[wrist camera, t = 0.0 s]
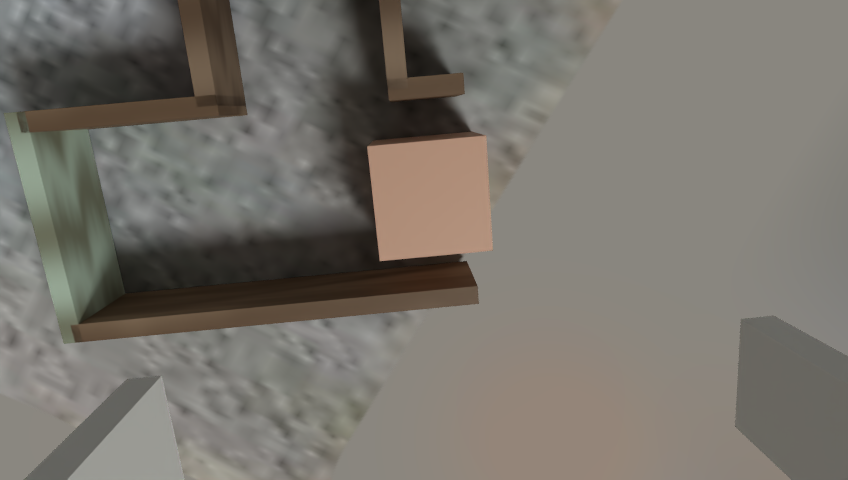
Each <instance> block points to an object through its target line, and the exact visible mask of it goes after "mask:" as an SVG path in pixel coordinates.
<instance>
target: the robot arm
mask: <svg viewBox="0 0 848 480" xmlns="http://www.w3.org/2000/svg"><path fill="white" fill-rule="evenodd" d="M740 327H741V328H740V345H739V363H738V364H739V365H738V384H737V401H736V420H735V427H736V428H737V429H738V430H739V431H740V432H741V433H742V434H744V435H745V436H746V437H747V438H748V439H749V440H750V441H751V442H752V443H753V444H754V445H755V446H756V447H757V448H758V449H759V450H760V451H762V452H763V453H764V454H765V455H766V456H767V457H768V458H769V459H770V460H771V461H772V462H773V463H774V464H775V465H776V466H777V467H778V468H780V469H781V470H782V471H783V472H784V473H785V474H786V475H787V476H788V477H789V478H790V479H791V480H848V356H846V355H844V354H843V353H841V352H839V351H837V350H835V349H834V348H832V347H830V346H828V345H826V344H825V343H823V342H821V341H819V340H817V339H815V338H813V337H812V336H810V335H808V334H806V333H804V332H803V331H801V330H799V329H797V328H795V327H793V326H792V325H790V324H788V323H786V322H784V321H782V320H781V319H779V318H777V317H775V316H767V317H757V318H746V319H741V325H740ZM24 480H184V476H183V471H182V466H181V462H180V457H179V453H178V448H177V444H176V439H175V434H174V430H173V425H172V421H171V416H170V412H169V407H168V402H167V398H166V393H165V389H164V384H163V380H162V376H154V377H143V378H133V379H127V380H126V381H125V382H124V383H123V384H122V385H121V386H120V387H118V388H117V389H116V390H115V391H114V392H113V393H112V394H111V395H110V396H109V397H108V398H107V399H106V400H105V401H104V402H103V403H102V404H101V405H100V406H99V407H98V408H97V409H96V410H95V411H94V412H93V413H92V414H91V415H90V416H89V417H88V418H87V419H86V420H85V421H84V422H83V423H82V424H80V425H79V426H78V427H77V428H76V429H75V430H74V431H73V432H72V433H71V434H70V435H69V436H68V437H67V438H66V439H65V440H64V441H63V442H62V443H61V444H60V445H59V446H58V447H57V448H56V449H55V450H54V451H53V452H52V453H51V454H50V455H49V456H48V457H47V458H46V459H45V460H44V461H42V462H41V463H40V464H39V465H38V466H37V467H36V468H35V469H34V470H33V471H32V472H31V473H30V474H29V475H28V476H27V477H26V478H25V479H24Z"/></svg>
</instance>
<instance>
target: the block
mask: <svg viewBox="0 0 848 480" xmlns="http://www.w3.org/2000/svg"><path fill="white" fill-rule="evenodd" d="M367 149H368V158H369V167H370V176H371V185H372V194H373V204H374V213H375V222H376V231H377V240H378V249H379V258H380V261H387V260H398V259H408V258H419V257H429V256H440V255H451V254H461V253H472V252H482V251H492V250H493V246H492V231H491V230H492V228H491V211H490V194H489V177H488V160H487V143H486V135H482V134H478V133H475V132H461V133H450V134H439V135H428V136H417V137H406V138H395V139H384V140H373V141H372V142H371V143H370V144H369V145H368V146H367Z"/></svg>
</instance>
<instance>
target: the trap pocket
mask: <svg viewBox="0 0 848 480" xmlns="http://www.w3.org/2000/svg"><path fill="white" fill-rule="evenodd" d="M178 6H179V11H180V17H181V22H182V28H183V34H184V39H185V45H186V50H187V56H188V61H189V67H190V72H191V78H192V84H193V89H194V95H195V96H200V98H201V96H202V97H203V98H204V96H205V98H204V99H205V101H206V102H207V100H206V97H207V96H206V95H209V97H210V95H211V96H212V95H216V96H213V97H214V98H213V97H212V98H211V100H212V99H214V100H217V103H216V101H214V100H213V101H214V102H215V103H216V104H215V103H211V102H212V101H211V100H210V99H209V97H208V98H207V99H208V100H210V101H211V102H209V101H208V102H207V103H205V104H204V102H205V101H203V104H204V106H207V105H206V104H208V103H211V104H208V106H212V105H213V104H214V105H226V106H231V105H232V106H238V105H239V106H246V103H245V97H244V91H243V84H242V78H241V72H240V65H239V59H238V53H237V47H236V40H235V34H234V28H233V21H232V15H231V9H230V3H229V0H178ZM379 6H380V16H381V26H382V36H383V46H384V56H385V66H386V76H387V83H388V84H387V87H388V90H389V89H391V90H394V89H397V87H398V89H400V88H402V89H403V88H404V89H406V88H408V81H407V70H406V59H405V48H404V37H403V25H402V14H401V3H400V0H379ZM401 78H402V79H401ZM404 78H405V79H404ZM388 79H389V80H388ZM395 79H396V80H397V81H396V80H395ZM392 81H393V82H392ZM394 81H395V82H394ZM397 82H398V83H397ZM403 82H404V83H403ZM405 82H406V83H405ZM392 83H393V85H394V86H393V85H392ZM400 83H401V84H400ZM389 84H390V85H389ZM395 85H396V86H395ZM401 85H402V86H403V87H401ZM392 86H393V87H394V88H393V87H392ZM196 98H197V97H195V100H196ZM203 98H201V99H202V100H203ZM215 98H216V99H215ZM197 100H198V101H199V99H198V98H197ZM198 101H197V102H198ZM200 101H201V100H200ZM230 101H231V102H230ZM201 102H202V101H201ZM201 102H200V103H201ZM196 104H198V105H200V104H199V102H198V103H196ZM228 104H229V105H228ZM201 105H202V103H201ZM201 105H200V106H199V107H201ZM214 105H213V106H214ZM196 106H197V105H196ZM202 106H203V105H202Z"/></svg>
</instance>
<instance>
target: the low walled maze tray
mask: <svg viewBox="0 0 848 480" xmlns="http://www.w3.org/2000/svg"><path fill="white" fill-rule="evenodd" d="M401 79H402V78H401ZM404 79H405V78H404ZM388 80H389V79H388ZM395 80H396V79H395ZM396 81H397V80H396ZM407 81H408V88H406V89H404V88H403V89H402V88H400V89H398V87H397V89H394V90H391V89H389V90H388V97H389V101H390V102H400V101H411V100H422V99H434V98H445V97H455V96H459V95H462V94H465V92H464V77H463V73H455V74H443V75H432V76H421V77H409V78H407ZM392 82H393V81H392ZM394 82H395V81H394ZM397 83H398V82H397ZM403 83H404V82H403ZM405 83H406V82H405ZM387 84H388V83H387ZM400 84H401V83H400ZM389 85H390V84H389ZM392 85H393V83H392ZM393 86H394V85H393ZM393 86H392V87H393ZM395 86H396V85H395ZM401 87H403V86H402V85H401ZM393 88H394V87H393ZM206 96H207V97H206V100H207V102H208V101H209V102H211V101H212V102H211V103H215V102H214V101H216V103H217V100H214V99H212V100H211V98H212V97H213V96H216V95H212V96H211V95H210V97H209V95H206ZM195 97H197V98H198V99H199V101H198V100H197V98H196V100H195ZM208 97H209V99H210V100H211V101H210V100H208V99H207V98H208ZM201 98H203V97H202V96H201ZM201 98H200V96H194V97H183V98H171V99H160V100H149V101H137V102H126V103H115V104H103V105H92V106H81V107H69V108H58V109H47V110H35V111H24V112H13V113H4V116H5V120H6V124H7V128H8V132H9V136H10V139H11V143H12V147H13V151H14V155H15V159H16V162H17V166H18V170H19V174H20V178H21V182H22V185H23V189H24V193H25V197H26V201H27V204H28V208H29V212H30V216H31V220H32V224H33V227H34V231H35V235H36V239H37V243H38V247H39V250H40V254H41V258H42V262H43V266H44V270H45V273H46V277H47V281H48V285H49V289H50V293H51V296H52V300H53V304H54V308H55V312H56V316H57V319H58V323H59V327H60V331H61V335H62V339H63V342H64V344H66V343H76V342H87V341H97V340H107V339H118V338H128V337H138V336H149V335H159V334H170V333H180V332H190V331H201V330H211V329H221V328H232V327H242V326H252V325H263V324H273V323H284V322H294V321H304V320H315V319H325V318H335V317H346V316H356V315H367V314H377V313H387V312H398V311H408V310H418V309H429V308H439V307H449V306H460V305H470V304H479V301H478V287H477V284H476V282H475V279H474V277H473V275H472V272H471V270H470V268H469V266H468V263H467V261H463V262H452V263H442V264H431V265H421V266H410V267H400V268H389V269H379V270H368V271H358V272H347V273H336V274H326V275H315V276H305V277H294V278H284V279H273V280H263V281H252V282H242V283H231V284H221V285H210V286H200V287H189V288H178V289H168V290H157V291H147V292H136V293H126V294H125V290H124V286H123V282H122V277H121V273H120V268H119V264H118V260H117V255H116V251H115V246H114V242H113V238H112V233H111V229H110V224H109V220H108V216H107V211H106V207H105V202H104V198H103V194H102V189H101V185H100V180H99V176H98V172H97V167H96V163H95V158H94V154H93V150H92V145H91V141H90V136H89V132H88V129H97V128H108V127H119V126H130V125H142V124H153V123H164V122H175V121H187V120H198V119H209V118H220V117H231V116H243V115H247V110H246V106H239V105H238V106H232V105H231V106H226V105H214V104H213V105H214V106H213V105H212V106H208V104H211V103H208V104H206V105H207V106H204V104H205V103H207V102H206V101H205V99H204V98H205V96H204V98H203V100H202V99H201ZM213 98H214V97H213ZM215 99H216V98H215ZM200 100H201V101H202V102H201V101H200ZM213 100H214V101H213ZM197 101H198V102H199V104H200V105H201V103H202V105H203V106H202V105H201V107H199V106H200V105H198V104H196V103H198V102H197ZM203 101H205V102H204V104H203ZM200 102H201V103H200ZM230 102H231V101H230ZM216 103H215V104H216ZM196 105H197V106H196ZM228 105H229V104H228Z"/></svg>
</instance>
